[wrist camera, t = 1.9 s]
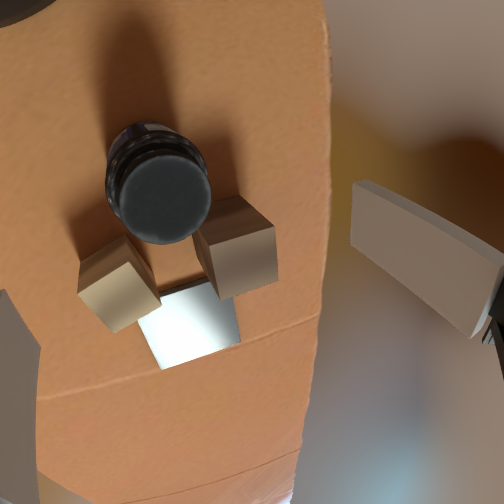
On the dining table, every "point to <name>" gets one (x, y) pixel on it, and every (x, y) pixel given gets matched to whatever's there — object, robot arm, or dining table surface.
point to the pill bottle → (157, 183)
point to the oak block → (118, 284)
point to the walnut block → (236, 248)
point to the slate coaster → (190, 324)
